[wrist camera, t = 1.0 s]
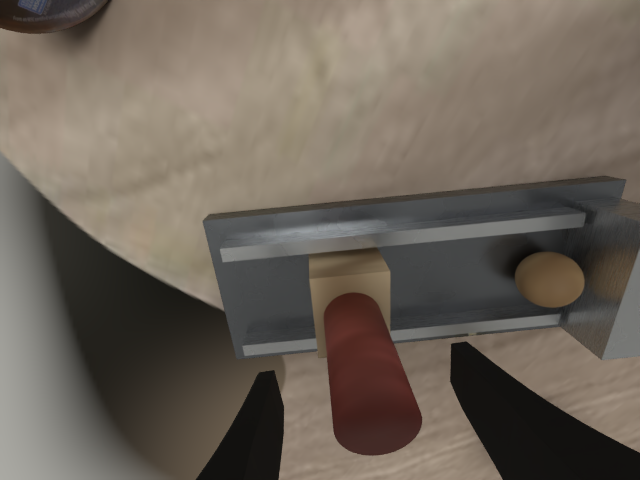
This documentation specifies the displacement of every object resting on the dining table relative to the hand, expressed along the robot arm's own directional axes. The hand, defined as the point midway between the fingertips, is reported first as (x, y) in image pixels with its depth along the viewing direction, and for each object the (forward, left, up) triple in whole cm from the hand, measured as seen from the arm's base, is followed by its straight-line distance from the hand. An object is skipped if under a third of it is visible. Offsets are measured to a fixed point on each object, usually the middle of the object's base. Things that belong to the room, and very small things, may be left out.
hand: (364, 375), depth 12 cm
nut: (-12, 0, -6) cm, 13 cm away
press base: (-4, 0, -8) cm, 9 cm away
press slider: (0, 0, -7) cm, 7 cm away
